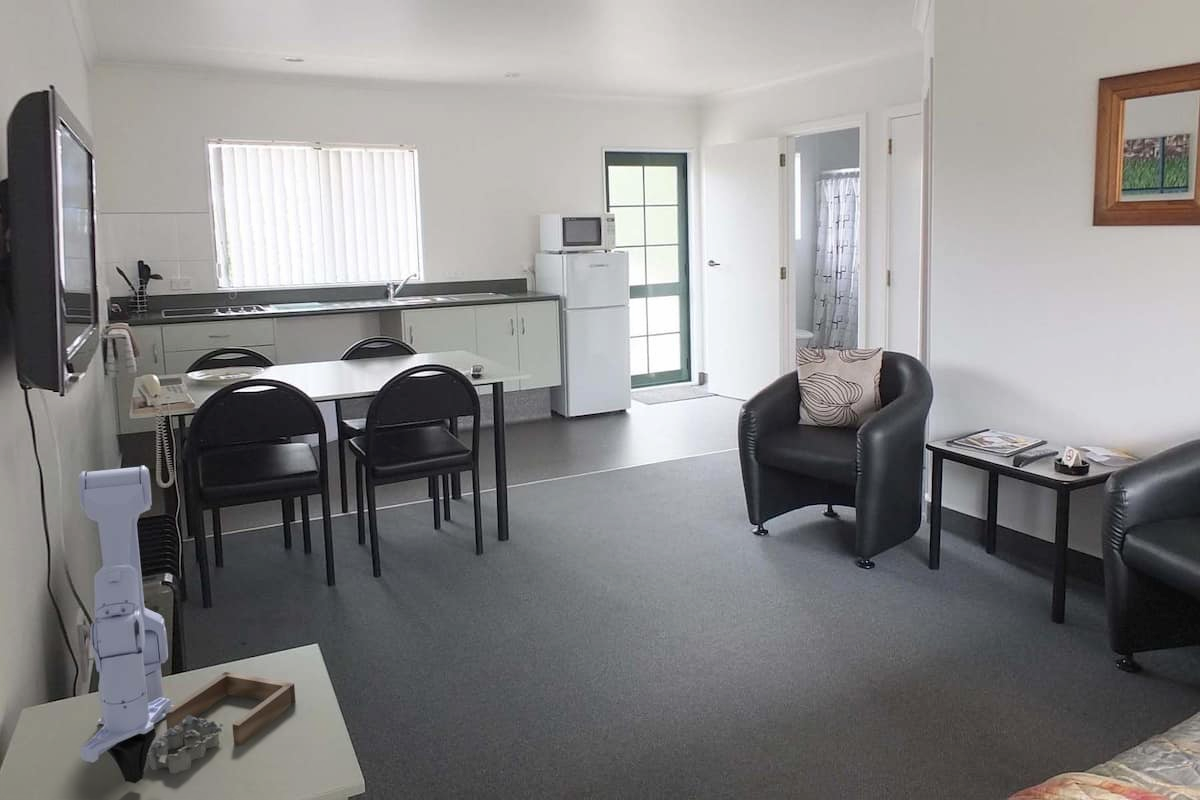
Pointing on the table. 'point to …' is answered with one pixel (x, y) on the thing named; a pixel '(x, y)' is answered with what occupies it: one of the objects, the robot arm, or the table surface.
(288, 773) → the table surface
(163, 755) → the egg carton
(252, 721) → the walnut u-shaped frame
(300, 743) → the table surface
